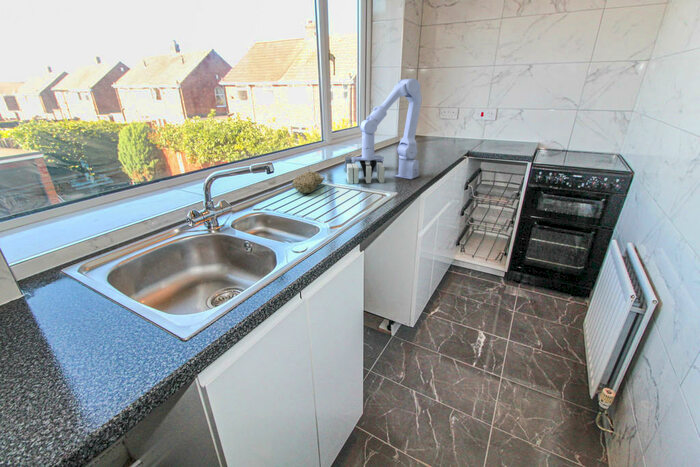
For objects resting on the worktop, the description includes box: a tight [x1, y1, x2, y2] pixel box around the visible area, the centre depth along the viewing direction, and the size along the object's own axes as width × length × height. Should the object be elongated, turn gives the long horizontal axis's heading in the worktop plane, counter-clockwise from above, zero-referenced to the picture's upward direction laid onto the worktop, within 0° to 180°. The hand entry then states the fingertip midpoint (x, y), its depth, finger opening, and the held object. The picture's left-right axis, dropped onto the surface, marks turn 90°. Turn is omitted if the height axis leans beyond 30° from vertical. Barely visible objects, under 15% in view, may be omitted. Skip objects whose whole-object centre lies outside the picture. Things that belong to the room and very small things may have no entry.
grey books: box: [344, 155, 384, 173], centre depth 177 cm, size 19×9×6 cm, turn 94°
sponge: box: [292, 171, 325, 194], centre depth 143 cm, size 13×8×20 cm
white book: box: [363, 162, 372, 184], centre depth 156 cm, size 2×9×8 cm, turn 4°
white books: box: [346, 162, 385, 185], centre depth 156 cm, size 17×9×8 cm, turn 94°
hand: (367, 176), depth 156 cm, fingers closed on white book, 2 cm apart
